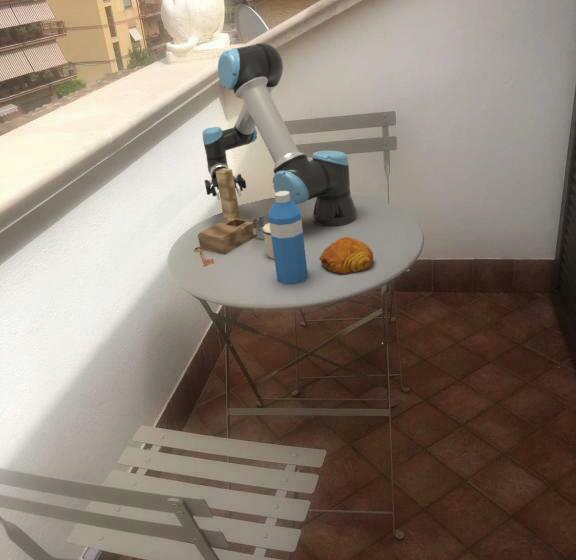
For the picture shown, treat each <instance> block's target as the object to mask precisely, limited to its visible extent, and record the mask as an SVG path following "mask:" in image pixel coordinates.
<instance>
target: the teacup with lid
mask: <svg viewBox="0 0 576 560" xmlns="http://www.w3.org/2000/svg"><path fill="white" fill-rule="evenodd" d="M262 233H263V239H264V245H265V251H266V256H267V258H269V259H272V260H275V259H274V252H273V245H272V238H271V231H270V224H269V222H268V223H266V224H264V225H263V227H262Z"/></svg>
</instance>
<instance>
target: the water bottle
mask: <svg viewBox="0 0 576 560" xmlns="http://www.w3.org/2000/svg"><path fill="white" fill-rule="evenodd" d="M274 199H275V201H274V202H273V204H272V206H271V207H270V209H269V211H268V223H269V224H270V231H271V238H272V245H273V252H274V259H273V260H274V264H275V265H274V266H275V272H276V279H277V282H279V283H281V284H284V285H293V284H300V283H302V282H303V280H304V281H305V280H307V279H309V276H308V275H309V274H308V266H307V255H306V250H305V240H304V230H303V222H302V220H303V219H302V213H301V208H300V207H299V206H298V204H295V203H294V202H293V201H292V200H291V199H290V194H289V191H279V192H277V193H276V192H275V193H274Z"/></svg>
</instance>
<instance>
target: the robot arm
mask: <svg viewBox="0 0 576 560" xmlns="http://www.w3.org/2000/svg"><path fill="white" fill-rule="evenodd" d="M217 61H218V63H217V74H218V75H217V76H218V78H219V82H220V84H221V86H222V87H223V88H224V89H225V90H229V91H231V90H232V91H233V93H234V95H235V97H236V98H237V99H241V100H243V104H242V106H241V109H240V111H239V114H238V115H237V119H236V121H235V124H234V126H233V127H230V128H228V129H222V128H221V127H220V126H212V127H207V128H205V129H203V130H202V140H203V141H202V142H203V146H204V151H205V154H206V162H207V170H208V171H207V172H208V173H209V175H210V178H211V180H208V179H205V180H204V186H205V190H206V195H207V196H209V195H211V194H212V197H216V199H217V201H221V199H220V194H219V188H218V182H217V177H216V171H219V170H221V169H223V168H225V169H230V168H229V166H228V160H227V154H226V151H229V150H233V149H236V148H239V147H242V146H247V145H250V144H252V143H254V142H256V140H257V138H258V136H257V135H258V132H259V134H260V136H261V138H262V141H263V142H264V144H265V147H266V148H267V151H268V153H269V154H270V156H271V158H272V160H273V161H272V162H273V163H274V166H273V167H274V168H273V173H274V175H273V177H272V184H273V189H274V192H275V193H277V192H279V191H289V194H290V199H291V200H292V201H293V202H294V203H295V204H296V205H299V204H303V203H306V202H308V201H309V200H312V199H315V198H316V200H315V202H314V208H313V211H312V212H313V213H312V217H313V218H312V219H313V221H314V222H315V224H317V225H320V226H326V227H327V226H329V227H333V226H335V227H336V226H343V225H345V224H349V223H352V222H353V221H354V220H356V219H357V217H358V211H357V207H356V205H355V203H354V200H353V198H352V196H351V185H350V184H351V183H350V164H349V160H348V159H349V158H348V155H347V154H346V153H345V152H344V151H339V150H319V151H315V152H313V154H312V156H311V159H312V160H309V159H308V156H307V155H306V153H303V152H301V151H299V149H298V147H297V145H296V143H295V141H294V140H293V137H292V136H291V134H290V131H289V130H288V127H287V125H286V124H285V121H284V119H283V118H282V115H281V113H280V111H279V109H278V108H277V104H275V101H274V99H273V98H272V95H271V93H272V91H273V89H274V88H275V87H277V86H278V84H279V83H280V80H281V78H282V77H283V76H282V75H283V71H284V64H283V59H282V56H281V54H280V52H279V51H278V50H277V49H276V48H275V47H273V45H270V44H268V43H263V42H262V43H255V44H250V45H246V46H242V47H233V48H231V49H229V50H224V51H223V52H221V54H220V56H219V59H218V60H217ZM233 178H234V184H235V190H236V194H237V195H238V197H242V191H243V189H247V183H246V180H245V179H244V178H243V177H242V174H241V173H239V174H237V175H235V176H234V175H233Z"/></svg>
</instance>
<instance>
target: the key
mask: <svg viewBox="0 0 576 560" xmlns="http://www.w3.org/2000/svg"><path fill="white" fill-rule="evenodd" d="M198 248H199V249H198ZM193 251H194V252H196V253H199V254H200V258H201V261H202V263H203V266H204V267H207V266H209V265H212V264H215V261H214V258H211V259H205V257H204V256H205V255H204V253H203V251H206V250H205V249H201V248H200V246H198V247H195V248H194V249H193ZM199 251H200V252H199Z"/></svg>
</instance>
